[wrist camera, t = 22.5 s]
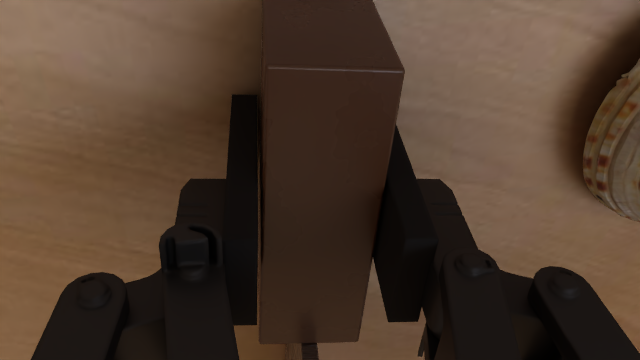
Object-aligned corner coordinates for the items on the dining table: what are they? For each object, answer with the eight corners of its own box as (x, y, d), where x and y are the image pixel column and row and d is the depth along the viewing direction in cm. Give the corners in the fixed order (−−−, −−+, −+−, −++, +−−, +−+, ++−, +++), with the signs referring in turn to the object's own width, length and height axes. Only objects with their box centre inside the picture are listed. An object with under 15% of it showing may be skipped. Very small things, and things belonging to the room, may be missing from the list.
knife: (262, -14, 16) (265, 92, 11) (369, -9, 17) (418, 95, 12) (254, 444, 30) (254, 584, 25) (313, 441, 30) (325, 579, 25)
